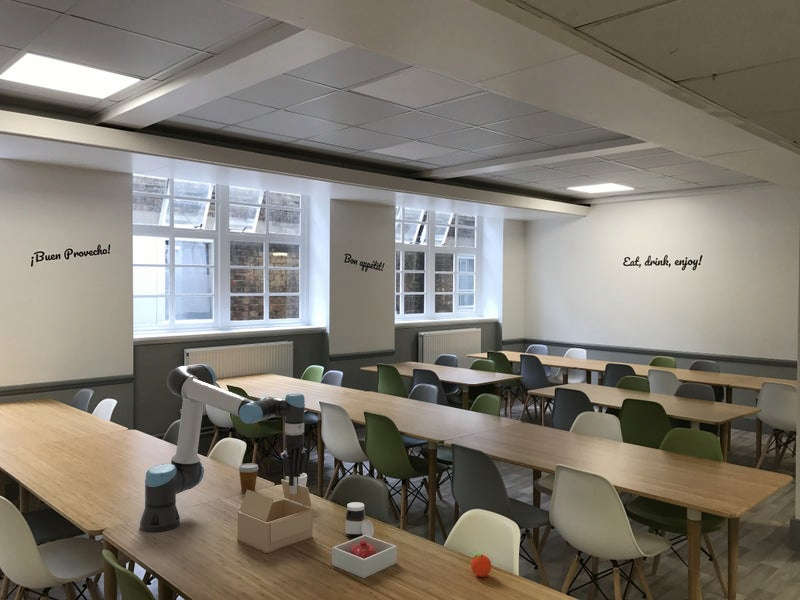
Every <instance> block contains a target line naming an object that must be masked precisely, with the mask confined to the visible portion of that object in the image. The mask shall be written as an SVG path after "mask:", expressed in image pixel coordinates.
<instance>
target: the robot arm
mask: <svg viewBox="0 0 800 600" xmlns="http://www.w3.org/2000/svg"><path fill="white" fill-rule="evenodd" d="M216 382H217V376H216V373H215V371H214V369H213V368H212V367H211V366H210V365H208V364H206V363H195V364H188V365H181V366H177V367H175V368H173V369H172V370H171V371H170V372H169V373H168V375H167V378H166V385H167V388H168V390H169V391H170V393H172V394H173V395H175V396H177V397H180V398H181V399H182V402H181V403H182V405H181V412H180V421H179V429H178V436H177V445H176V452H175V454H174V455H173V456H172V457H171V460H170V461H171V462H170V463H163V464H162V463H161V464H158V465H154V466H152V467H150V468H149V469H148V470H147V471H146V473H145V478H144V479H145V480H144V510H143V512H142V514H141V518H140V521H139V529H140V530H141V531H144V532H150V533H157V532H164V531H171V530H172V529H176V528H177V527H178V526H180V524H181V517H180V513H179V512H178V511H179V510H178V508H177V504H176V502H177V501H176V499H177V497H176V496H177V494H181V493H182V492H185V491H188V490H191V489H193V488H195V487H196V486H198V485H199V484H200V483H201V482H202V480H203V479H204V474H205V473H204V472H205V469H204V466H203V464H202V462H201V457H200V456H198V451H199V442H200V435H201V426H202V421H203V414H204V413H203V412H204V404H206V405H208V406H211V407H213V408H215V409H218V410H221V411H223V412H226V413H229V414H231V415H234V416H236V417H239V419H240V420H241V421H242V422H243V423H244V424H247V425H250V424H255V423H258V422H261V421H264V420H267V419H271V418H284V433H285V434H284V444H285V445H284V446H285V447H284V450H283V452H280V453H279V457H280V458H281V462H282V463H281V464H282V468H283V474H284V476H285V477H286V476H287V477H289V485H290V493H291V494H297V484H298V477H300V474H302V473H304V468H305V464H306V463H305V462H306V459H307V454H308V453H309V449H308V448H305V446H304V443H305V434H304V433H305V409H306V408H305V407H306V401H305V395H304V394H303V393H287V394H286V395H285V398H284V397H283V398H282V397H273V396H272V397H271V396H263V397H260V398H259V400H257V401H255V400H253V399H250V398H247V397H244V396H242V395H239V394H237V393H234V392H231V391H230V390H229V391H228V390H226V389H223V388H221V387H218V386H215V385H216Z"/></svg>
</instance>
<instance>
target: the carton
mask: <svg viewBox="0 0 800 600" xmlns="http://www.w3.org/2000/svg"><path fill="white" fill-rule="evenodd" d="M313 518H314V508H312V507H310V506H307V505H304V504H303V505H300V504H298V503H295V502H292V501H289V499H287V498H281V499H278V500H273V503H272V506H271V509H270V512H269V514H268V517H267V520H266V521H265V520H262V519H260V518H257V517H255V516H252V515H250V514H247V513H244V512H242V511H239V510H238V511H237V537H236V538H237V541H238V542H240V543H241V544H244V545H247V546H248V547H251V548H254V549H255V550H257V551H260V552H262V553H265V554H269V553H273V552H276V551H278V550H281V549H283V548H286V547H289V546H291V545H295V544H297V543H299V542H303V541H305V540H308V539H311V538H313V527H314V525H313V523H314V519H313Z"/></svg>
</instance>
